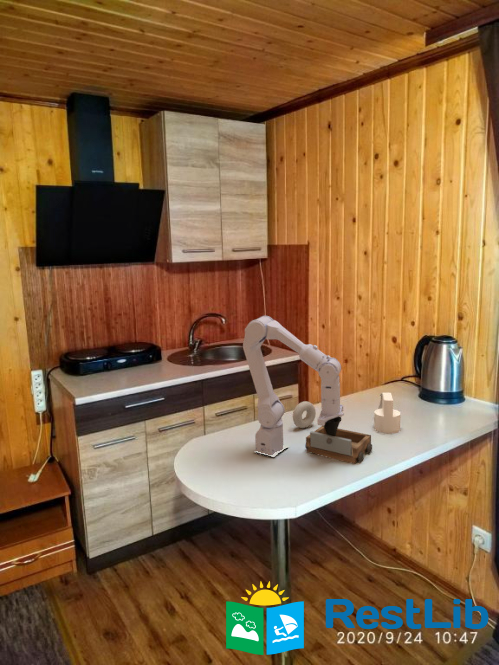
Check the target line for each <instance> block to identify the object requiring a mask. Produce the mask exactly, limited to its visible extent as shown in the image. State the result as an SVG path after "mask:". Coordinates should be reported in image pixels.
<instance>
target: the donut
mask: <svg viewBox="0 0 499 665" xmlns="http://www.w3.org/2000/svg"><path fill="white" fill-rule="evenodd" d="M305 411H306V415H305V417H304V418H303V414H304V412H305ZM316 411H317V410H316V408H315V405H314V404H313V403H311V402H310V401H305V400H304V401H301V402H299V403H298V404H297V405H296V406H295V408H294V410H293V413H292V421H293V423H294V425H295V427H298V428H299V427H300V429H305V427H306V428H308V427H310V426H312V424H313V423H314V421H315V418H316Z"/></svg>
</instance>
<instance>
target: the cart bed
mask: <svg viewBox="0 0 499 665" xmlns="http://www.w3.org/2000/svg"><path fill="white" fill-rule="evenodd" d="M313 432H318V433H322V434H327V433H326V430H325V427H324V426H321V425H320V427H318V428H316V430H314V431H313ZM336 437H341V438H346V439H350V440H351V442H352V455H351V456H349V455H345V454H341V453H336V452H332V451H328V450H324V449H319V448H315V447H311V439H310V434H309V435H307V436H306V437H305V448H306V450H307V453H308V452H312V453H311V454H313V453H315V454H314V455H317V454H319V455H318V456H321V455H323V456H322V457H325V456H327V457H326V458H329V457H330V458H329V459H333V458H334V459H333V460H337V459H338V461H341V462H346V463H350V464H353V465H355V464H356V463H357V462H360V463H362V462H363V461H364V458H365V454H371V453H372V450H373V444H372V435H371V434H366V433H363V432H356V431H352V430H347V429H343V428H338V429H337V433H336Z"/></svg>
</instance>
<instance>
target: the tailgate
mask: <svg viewBox="0 0 499 665" xmlns="http://www.w3.org/2000/svg"><path fill="white" fill-rule="evenodd" d="M309 435H310V439H311V447H315V448H319V449H324V450H328V451H332V452H336V453H341V454H345V455H349V456H351V455H352V442H351V440H350V439H346V438H341V437H336V436H330V435H327V434H322V433H318V432H314V431H313V430H312V431H310V432H309Z"/></svg>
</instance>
